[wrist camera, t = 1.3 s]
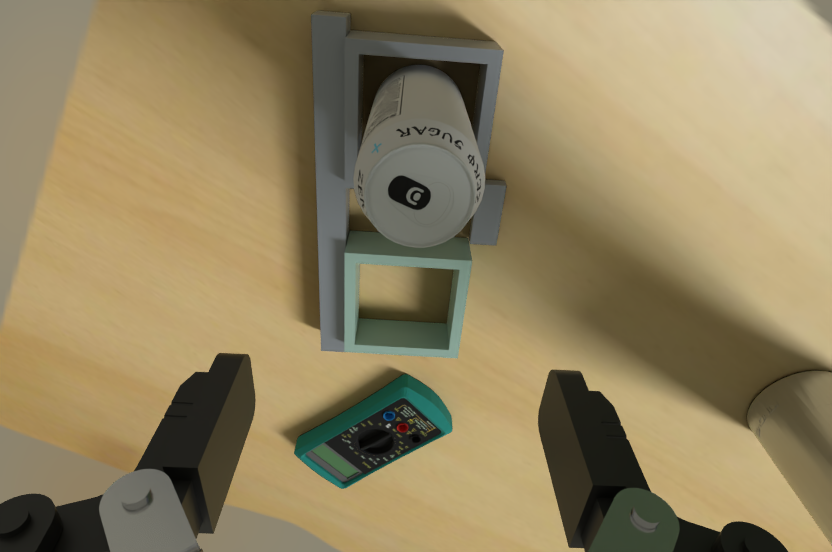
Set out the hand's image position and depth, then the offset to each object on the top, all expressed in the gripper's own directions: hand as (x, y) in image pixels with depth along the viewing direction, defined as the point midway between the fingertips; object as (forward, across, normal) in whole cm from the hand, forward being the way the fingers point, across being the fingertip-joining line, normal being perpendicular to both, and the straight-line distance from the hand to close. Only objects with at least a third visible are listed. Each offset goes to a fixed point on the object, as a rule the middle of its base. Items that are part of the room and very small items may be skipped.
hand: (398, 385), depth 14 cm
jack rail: (+25, -1, +6) cm, 26 cm away
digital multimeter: (+26, +2, +30) cm, 40 cm away
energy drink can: (+26, -1, -1) cm, 26 cm away
